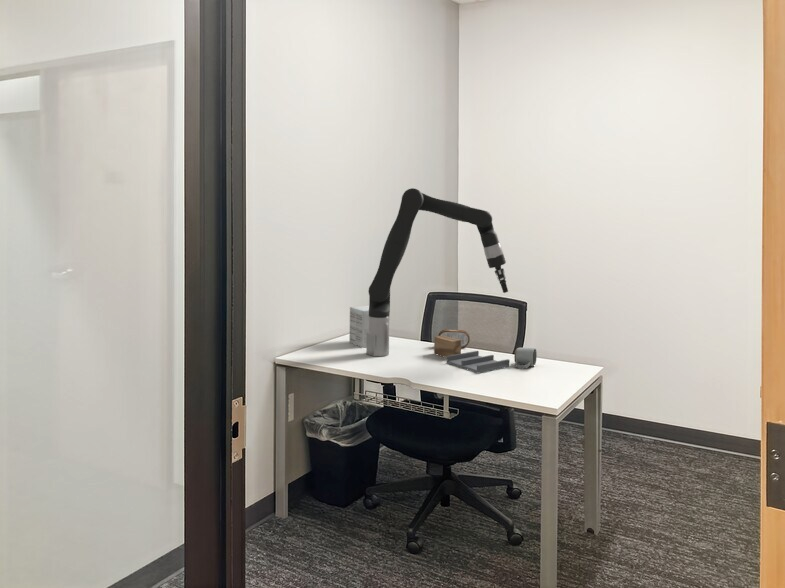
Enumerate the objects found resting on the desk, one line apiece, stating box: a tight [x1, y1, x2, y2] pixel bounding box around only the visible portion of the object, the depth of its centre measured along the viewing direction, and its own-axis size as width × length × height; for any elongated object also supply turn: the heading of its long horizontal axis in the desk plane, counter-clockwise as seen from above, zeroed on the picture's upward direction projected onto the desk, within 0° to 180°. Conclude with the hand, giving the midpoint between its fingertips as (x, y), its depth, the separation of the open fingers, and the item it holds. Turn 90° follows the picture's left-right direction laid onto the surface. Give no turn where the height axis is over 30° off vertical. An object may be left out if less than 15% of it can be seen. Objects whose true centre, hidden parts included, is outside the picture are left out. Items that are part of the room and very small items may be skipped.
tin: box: [437, 328, 471, 349], centre depth 290 cm, size 15×3×8 cm, turn 84°
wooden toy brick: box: [433, 335, 462, 358], centre depth 273 cm, size 5×12×8 cm, turn 37°
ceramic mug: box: [514, 347, 538, 369], centre depth 258 cm, size 11×8×8 cm
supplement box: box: [348, 305, 369, 348], centre depth 293 cm, size 13×13×18 cm
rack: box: [446, 350, 510, 374], centre depth 258 cm, size 18×19×3 cm
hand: (505, 290), depth 267 cm, fingers open, 8 cm apart
